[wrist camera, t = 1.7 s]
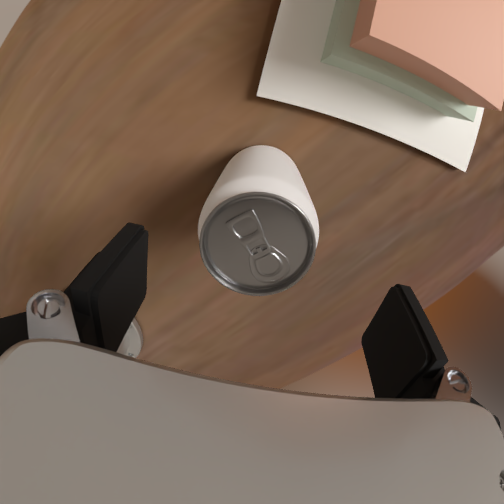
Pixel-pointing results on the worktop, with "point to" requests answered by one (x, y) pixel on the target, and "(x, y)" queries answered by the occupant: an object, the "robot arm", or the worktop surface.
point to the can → (258, 224)
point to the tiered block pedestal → (392, 67)
